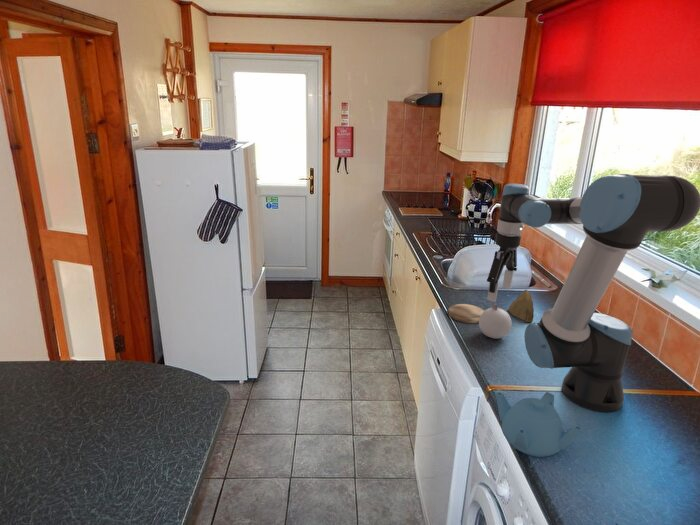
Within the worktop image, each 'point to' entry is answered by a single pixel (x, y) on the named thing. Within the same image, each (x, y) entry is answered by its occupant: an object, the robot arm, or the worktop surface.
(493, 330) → the ornament
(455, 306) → the trivet
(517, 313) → the rock
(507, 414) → the teapot
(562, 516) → the worktop surface
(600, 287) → the robot arm
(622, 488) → the worktop surface
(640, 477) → the worktop surface
